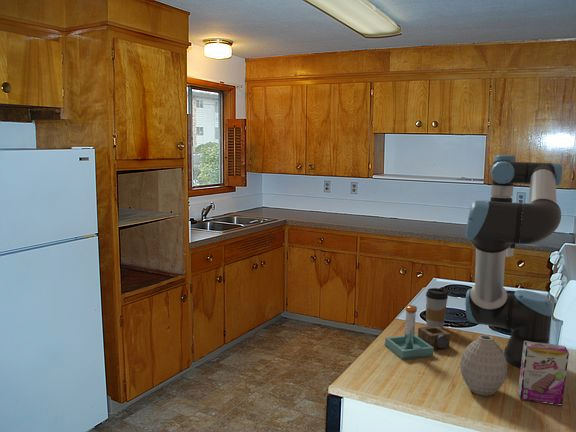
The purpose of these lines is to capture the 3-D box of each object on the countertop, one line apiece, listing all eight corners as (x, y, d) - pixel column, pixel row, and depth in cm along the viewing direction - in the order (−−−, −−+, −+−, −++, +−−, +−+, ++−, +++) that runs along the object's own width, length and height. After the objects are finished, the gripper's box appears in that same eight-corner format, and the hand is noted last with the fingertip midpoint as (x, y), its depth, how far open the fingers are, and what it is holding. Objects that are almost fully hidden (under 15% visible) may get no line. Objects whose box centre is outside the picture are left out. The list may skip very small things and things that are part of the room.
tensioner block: (451, 348, 181) (453, 335, 180) (432, 351, 179) (433, 337, 178) (436, 338, 190) (437, 325, 189) (417, 340, 188) (418, 327, 187)
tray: (433, 355, 175) (433, 347, 174) (402, 359, 171) (402, 351, 171) (414, 342, 186) (414, 334, 186) (385, 345, 183) (385, 337, 182)
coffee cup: (429, 322, 207) (431, 286, 205) (449, 327, 202) (451, 290, 200) (420, 327, 201) (422, 290, 199) (440, 333, 196) (443, 295, 193)
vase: (512, 391, 151) (517, 338, 149) (492, 406, 143) (498, 350, 140) (471, 376, 160) (475, 325, 158) (450, 389, 152) (454, 336, 149)
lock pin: (416, 350, 177) (419, 308, 175) (406, 351, 176) (409, 309, 174) (410, 345, 181) (413, 304, 179) (401, 346, 180) (403, 305, 177)
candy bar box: (520, 400, 146) (525, 346, 144) (517, 392, 151) (522, 339, 148) (563, 407, 143) (569, 351, 141) (559, 398, 148) (565, 344, 145)
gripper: (535, 200, 179) (529, 259, 182) (487, 192, 202) (482, 245, 206) (517, 201, 177) (512, 260, 180) (471, 193, 200) (467, 245, 203)
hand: (496, 252), depth 193 cm, fingers open, 13 cm apart
